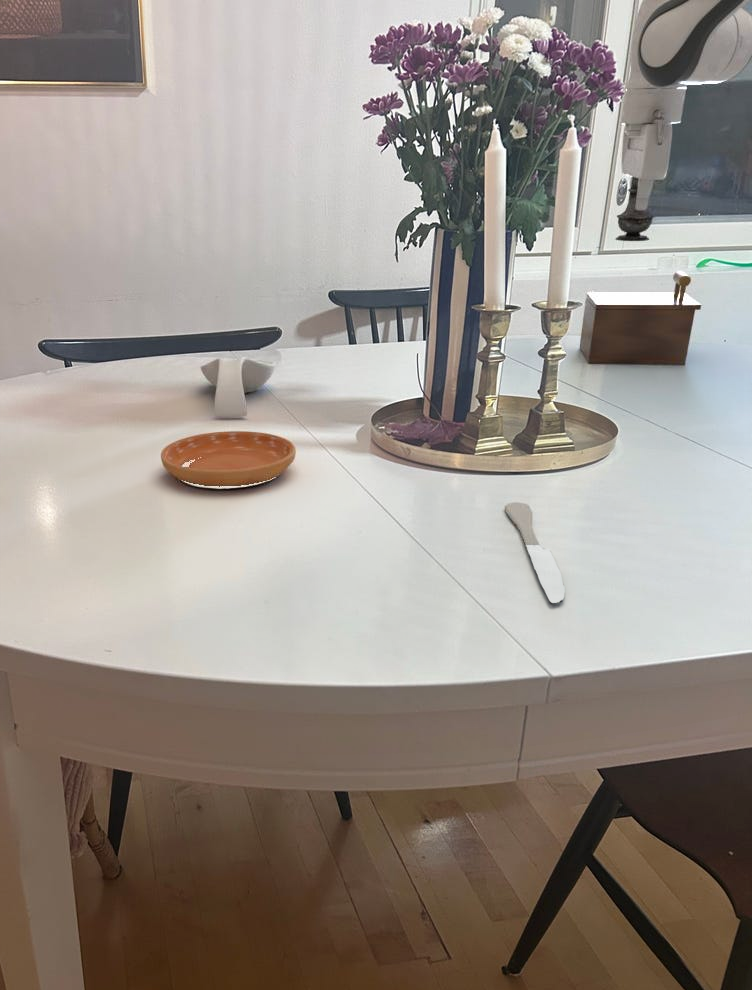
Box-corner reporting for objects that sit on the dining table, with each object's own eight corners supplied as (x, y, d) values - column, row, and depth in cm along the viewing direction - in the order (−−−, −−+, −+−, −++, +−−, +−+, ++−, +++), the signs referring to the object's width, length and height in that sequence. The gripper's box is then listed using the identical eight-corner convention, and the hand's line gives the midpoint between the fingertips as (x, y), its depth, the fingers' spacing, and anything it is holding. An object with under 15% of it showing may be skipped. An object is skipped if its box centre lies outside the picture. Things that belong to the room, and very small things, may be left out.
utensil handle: (531, 502, 99) (503, 501, 100) (574, 601, 79) (538, 601, 79) (531, 505, 100) (503, 505, 100) (573, 606, 79) (538, 605, 79)
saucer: (134, 479, 111) (132, 454, 109) (221, 445, 122) (220, 423, 120) (239, 505, 102) (238, 479, 101) (322, 467, 113) (322, 443, 112)
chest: (669, 349, 167) (678, 297, 163) (685, 364, 156) (695, 309, 152) (579, 348, 169) (585, 297, 165) (588, 363, 159) (595, 309, 154)
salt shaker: (612, 241, 153) (623, 158, 147) (614, 237, 157) (625, 157, 152) (650, 241, 151) (663, 157, 145) (651, 237, 155) (664, 156, 150)
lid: (683, 297, 163) (689, 268, 160) (700, 309, 152) (706, 278, 150) (585, 297, 165) (589, 268, 163) (595, 309, 154) (600, 278, 152)
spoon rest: (204, 381, 154) (202, 336, 150) (276, 379, 153) (275, 334, 150) (191, 420, 133) (188, 369, 129) (274, 418, 133) (273, 367, 129)
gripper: (688, 109, 136) (671, 213, 142) (660, 111, 153) (646, 204, 160) (642, 110, 137) (627, 214, 143) (620, 112, 154) (608, 204, 161)
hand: (637, 208), depth 152 cm, fingers closed on salt shaker, 3 cm apart
